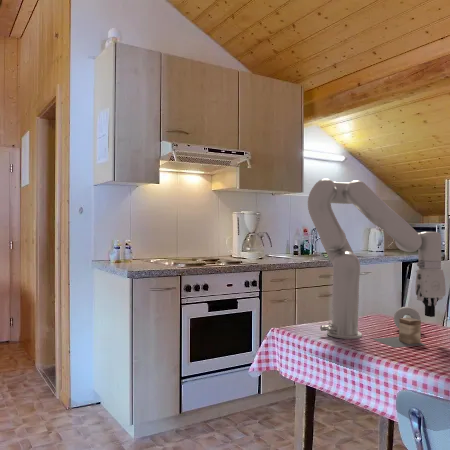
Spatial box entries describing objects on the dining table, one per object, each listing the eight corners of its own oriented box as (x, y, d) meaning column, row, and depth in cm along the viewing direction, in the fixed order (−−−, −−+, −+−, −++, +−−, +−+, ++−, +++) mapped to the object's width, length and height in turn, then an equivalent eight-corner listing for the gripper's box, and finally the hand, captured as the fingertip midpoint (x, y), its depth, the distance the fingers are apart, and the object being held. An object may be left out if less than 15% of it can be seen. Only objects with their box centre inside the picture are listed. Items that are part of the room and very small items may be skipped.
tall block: (408, 344, 158) (409, 321, 158) (399, 340, 162) (399, 318, 163) (420, 343, 159) (420, 320, 159) (410, 339, 164) (410, 317, 164)
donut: (419, 332, 179) (420, 306, 179) (420, 333, 176) (421, 308, 176) (393, 329, 182) (393, 305, 182) (393, 331, 179) (394, 306, 179)
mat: (394, 348, 153) (394, 347, 153) (371, 339, 164) (371, 338, 164) (426, 346, 157) (426, 344, 157) (402, 337, 169) (402, 336, 169)
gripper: (421, 267, 158) (421, 319, 158) (453, 265, 163) (454, 316, 163) (405, 265, 165) (405, 315, 165) (437, 264, 170) (437, 313, 170)
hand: (429, 316), depth 164 cm, fingers closed
